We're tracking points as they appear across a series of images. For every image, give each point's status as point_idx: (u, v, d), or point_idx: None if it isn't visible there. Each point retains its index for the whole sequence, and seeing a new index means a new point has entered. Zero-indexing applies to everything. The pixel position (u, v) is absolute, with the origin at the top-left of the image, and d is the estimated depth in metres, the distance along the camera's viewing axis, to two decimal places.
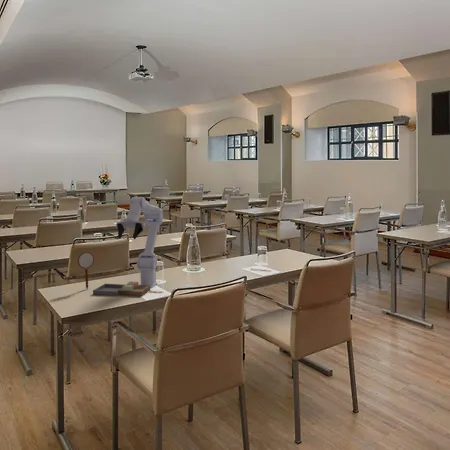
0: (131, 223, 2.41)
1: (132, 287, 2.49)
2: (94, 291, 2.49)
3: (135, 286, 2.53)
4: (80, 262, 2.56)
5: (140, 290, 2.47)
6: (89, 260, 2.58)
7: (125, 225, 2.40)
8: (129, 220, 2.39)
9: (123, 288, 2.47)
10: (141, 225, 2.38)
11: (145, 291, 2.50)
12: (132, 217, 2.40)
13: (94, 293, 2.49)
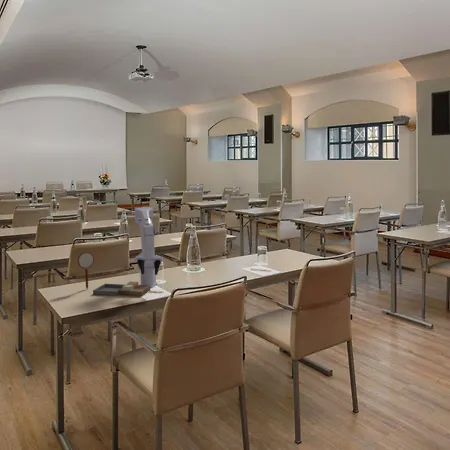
0: None
1: (132, 287, 2.49)
2: (94, 291, 2.49)
3: (135, 286, 2.53)
4: (80, 262, 2.56)
5: (140, 290, 2.47)
6: (89, 260, 2.58)
7: (144, 260, 2.52)
8: None
9: (123, 288, 2.47)
10: (159, 261, 2.49)
11: (145, 291, 2.50)
12: (149, 255, 2.48)
13: (94, 293, 2.49)
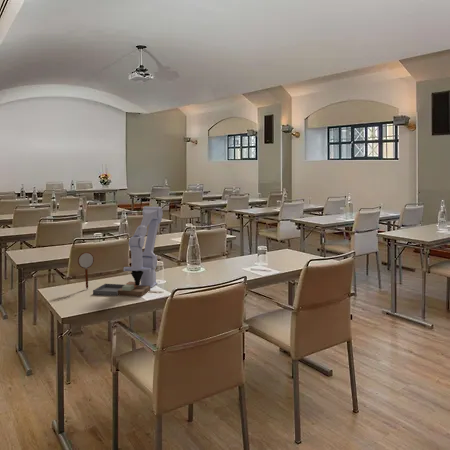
0: None
1: (132, 287, 2.49)
2: (94, 291, 2.49)
3: (134, 286, 2.53)
4: (80, 262, 2.56)
5: (140, 290, 2.47)
6: (89, 260, 2.58)
7: (132, 271, 2.54)
8: None
9: (123, 288, 2.47)
10: (141, 272, 2.52)
11: (145, 291, 2.50)
12: (137, 266, 2.50)
13: (94, 293, 2.49)
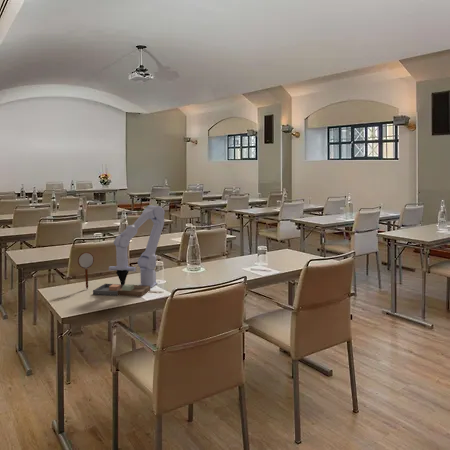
0: None
1: (132, 287, 2.49)
2: (94, 291, 2.49)
3: (109, 287, 2.56)
4: (80, 262, 2.56)
5: (140, 290, 2.47)
6: (89, 260, 2.58)
7: (117, 270, 2.55)
8: (120, 269, 2.52)
9: (123, 288, 2.47)
10: (126, 271, 2.54)
11: (145, 291, 2.50)
12: (122, 265, 2.52)
13: (94, 293, 2.49)
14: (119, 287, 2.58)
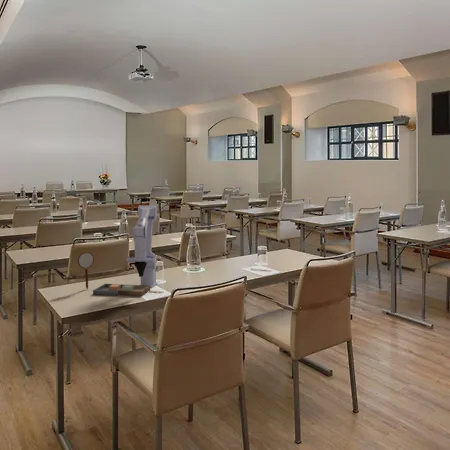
0: None
1: (132, 287, 2.49)
2: (94, 291, 2.49)
3: (109, 287, 2.56)
4: (80, 262, 2.56)
5: (140, 290, 2.47)
6: (89, 260, 2.58)
7: None
8: (138, 261, 2.44)
9: (123, 288, 2.47)
10: (145, 263, 2.45)
11: (145, 291, 2.50)
12: (140, 256, 2.44)
13: (94, 293, 2.49)
14: (119, 287, 2.58)
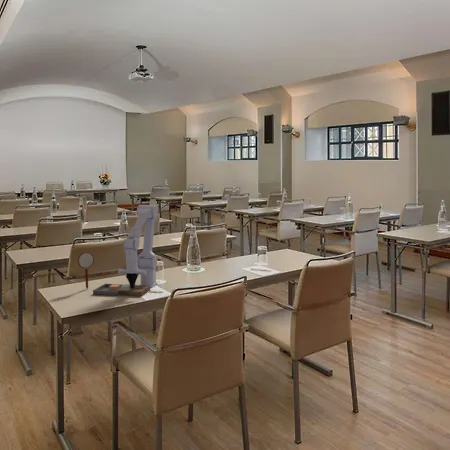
0: None
1: None
2: (94, 291, 2.49)
3: (109, 287, 2.56)
4: (80, 262, 2.56)
5: (140, 290, 2.47)
6: (89, 260, 2.58)
7: (127, 273, 2.48)
8: (130, 273, 2.45)
9: (122, 288, 2.48)
10: (136, 275, 2.46)
11: (145, 291, 2.50)
12: (131, 268, 2.45)
13: (94, 293, 2.49)
14: (119, 287, 2.58)
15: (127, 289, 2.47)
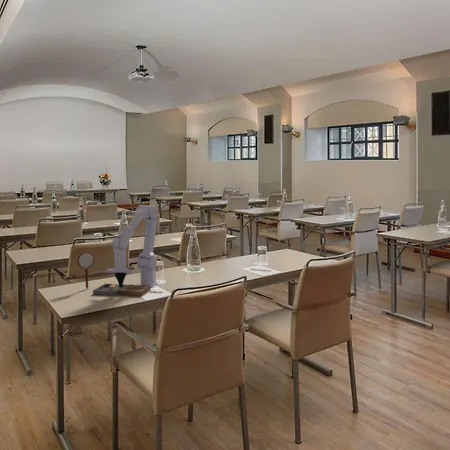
0: None
1: None
2: (94, 291, 2.49)
3: (109, 287, 2.56)
4: (80, 262, 2.56)
5: (140, 290, 2.47)
6: (89, 260, 2.58)
7: (115, 272, 2.49)
8: (118, 272, 2.46)
9: None
10: (124, 274, 2.48)
11: (145, 291, 2.50)
12: (120, 267, 2.46)
13: (94, 293, 2.49)
14: None
15: (117, 287, 2.48)
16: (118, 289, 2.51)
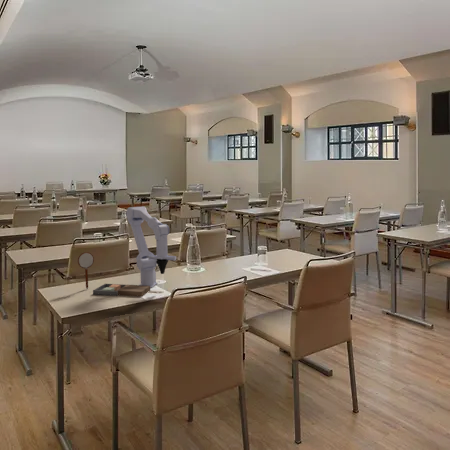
0: None
1: None
2: (94, 291, 2.49)
3: None
4: (80, 262, 2.56)
5: (140, 290, 2.47)
6: (89, 260, 2.58)
7: (157, 259, 2.53)
8: (160, 258, 2.50)
9: None
10: (166, 260, 2.52)
11: (145, 291, 2.50)
12: (162, 254, 2.50)
13: (94, 293, 2.49)
14: (119, 287, 2.58)
15: (104, 290, 2.49)
16: (109, 288, 2.52)
